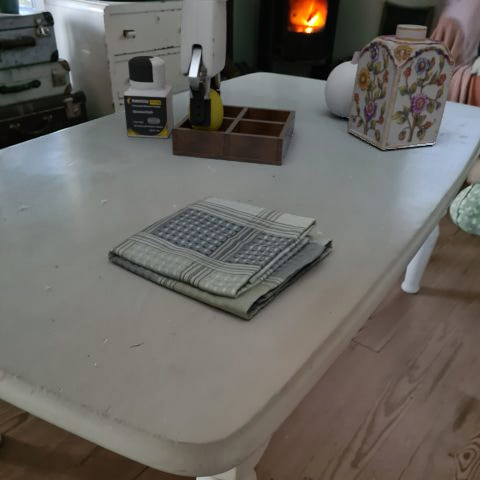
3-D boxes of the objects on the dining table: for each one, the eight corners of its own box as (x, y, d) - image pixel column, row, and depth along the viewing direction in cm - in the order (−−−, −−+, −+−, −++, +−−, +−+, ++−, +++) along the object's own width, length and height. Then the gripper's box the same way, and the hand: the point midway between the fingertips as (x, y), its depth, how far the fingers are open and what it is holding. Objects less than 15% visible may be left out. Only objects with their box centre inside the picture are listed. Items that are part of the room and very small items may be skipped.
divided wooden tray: (172, 154, 82) (171, 128, 80) (200, 125, 96) (200, 102, 94) (281, 165, 80) (283, 138, 78) (293, 134, 94) (295, 110, 91)
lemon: (228, 136, 85) (230, 84, 81) (212, 145, 81) (213, 90, 77) (198, 131, 87) (198, 80, 83) (182, 139, 83) (181, 85, 78)
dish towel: (102, 263, 54) (98, 235, 52) (207, 208, 66) (207, 184, 64) (251, 327, 45) (253, 297, 44) (340, 251, 58) (344, 225, 56)
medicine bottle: (126, 137, 89) (119, 60, 82) (135, 125, 95) (129, 52, 88) (168, 139, 89) (164, 62, 82) (173, 127, 95) (171, 54, 88)
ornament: (363, 127, 99) (374, 58, 92) (314, 118, 103) (321, 51, 96) (379, 116, 106) (391, 51, 99) (333, 108, 110) (341, 45, 103)
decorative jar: (381, 152, 87) (404, 30, 77) (344, 132, 96) (361, 21, 85) (437, 146, 91) (467, 29, 80) (398, 128, 100) (420, 20, 89)
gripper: (196, -18, 80) (196, 106, 90) (161, -13, 66) (166, 133, 76) (244, -15, 79) (238, 110, 89) (218, -9, 65) (215, 138, 75)
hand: (205, 119), depth 83 cm, fingers closed on lemon, 5 cm apart
